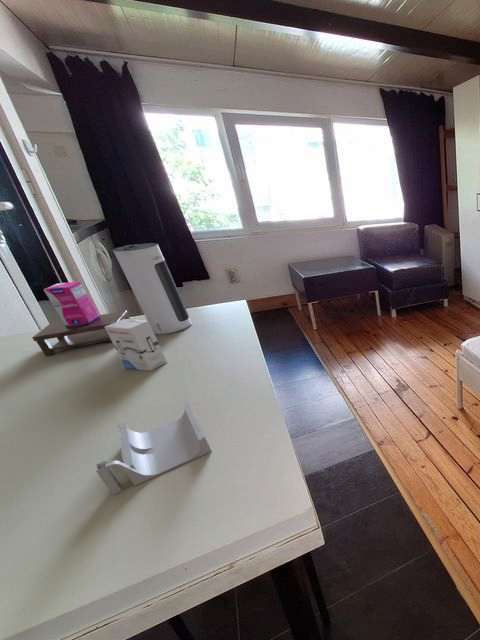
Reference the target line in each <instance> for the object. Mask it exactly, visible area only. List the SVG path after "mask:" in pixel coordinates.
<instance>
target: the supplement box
mask: <svg viewBox="0 0 480 640" xmlns="http://www.w3.org/2000/svg"><path fill="white" fill-rule="evenodd" d="M43 291H44V293H45V295H46V296H47V298H48V299H49V301H50V303H51V304H52V306H53V308H54V310H55V311H56V313H57V314H58V316H59V318H60V319H61V321H63V323H64V324H65V326H66V327H70V326H77V325H88V324H91V323H92V322H94V321H95V320H97V319H99V318H100V316H99V315H100V314H99V313H98V311H97V309H96V307H95V306H94V304H93V301H92V300H91V298H90V296H89V294H88V293H87V291H86V289H85V288H84V285H83V284H82V282H81V281H71V282H59V283H55V284H53V285H50V286H48V287H46V288H44V289H43Z"/></svg>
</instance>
